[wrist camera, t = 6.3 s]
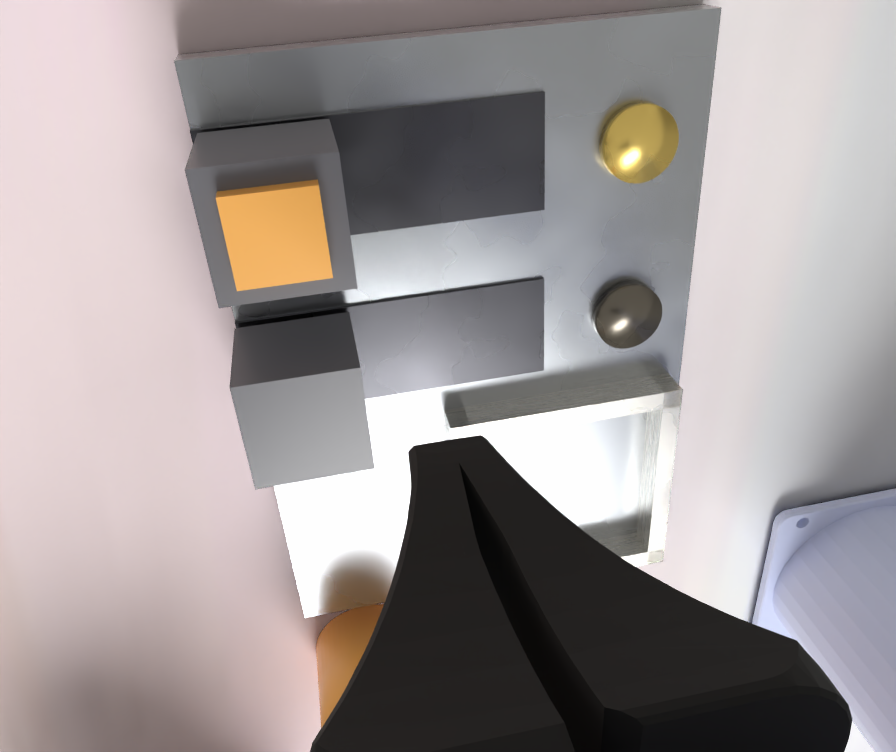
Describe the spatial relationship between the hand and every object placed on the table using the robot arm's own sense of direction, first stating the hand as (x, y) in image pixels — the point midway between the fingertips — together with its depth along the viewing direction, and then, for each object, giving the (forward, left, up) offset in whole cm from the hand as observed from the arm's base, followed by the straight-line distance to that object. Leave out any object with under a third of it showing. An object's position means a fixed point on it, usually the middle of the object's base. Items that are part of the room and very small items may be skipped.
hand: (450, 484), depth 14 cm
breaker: (+3, +2, -8) cm, 9 cm away
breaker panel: (-2, +3, -9) cm, 10 cm away
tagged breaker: (+3, -3, -8) cm, 9 cm away
